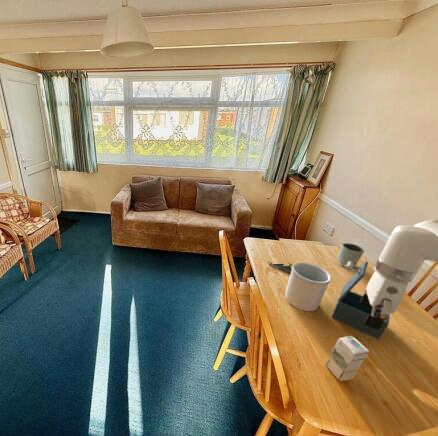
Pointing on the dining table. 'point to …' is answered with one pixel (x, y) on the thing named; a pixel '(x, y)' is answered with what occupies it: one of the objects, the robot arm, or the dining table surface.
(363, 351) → the syrup box
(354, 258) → the grey-green pot
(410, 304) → the dining table surface
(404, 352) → the dining table surface
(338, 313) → the chest
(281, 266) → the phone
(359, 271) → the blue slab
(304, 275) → the utensil holder
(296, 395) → the dining table surface
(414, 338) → the dining table surface
